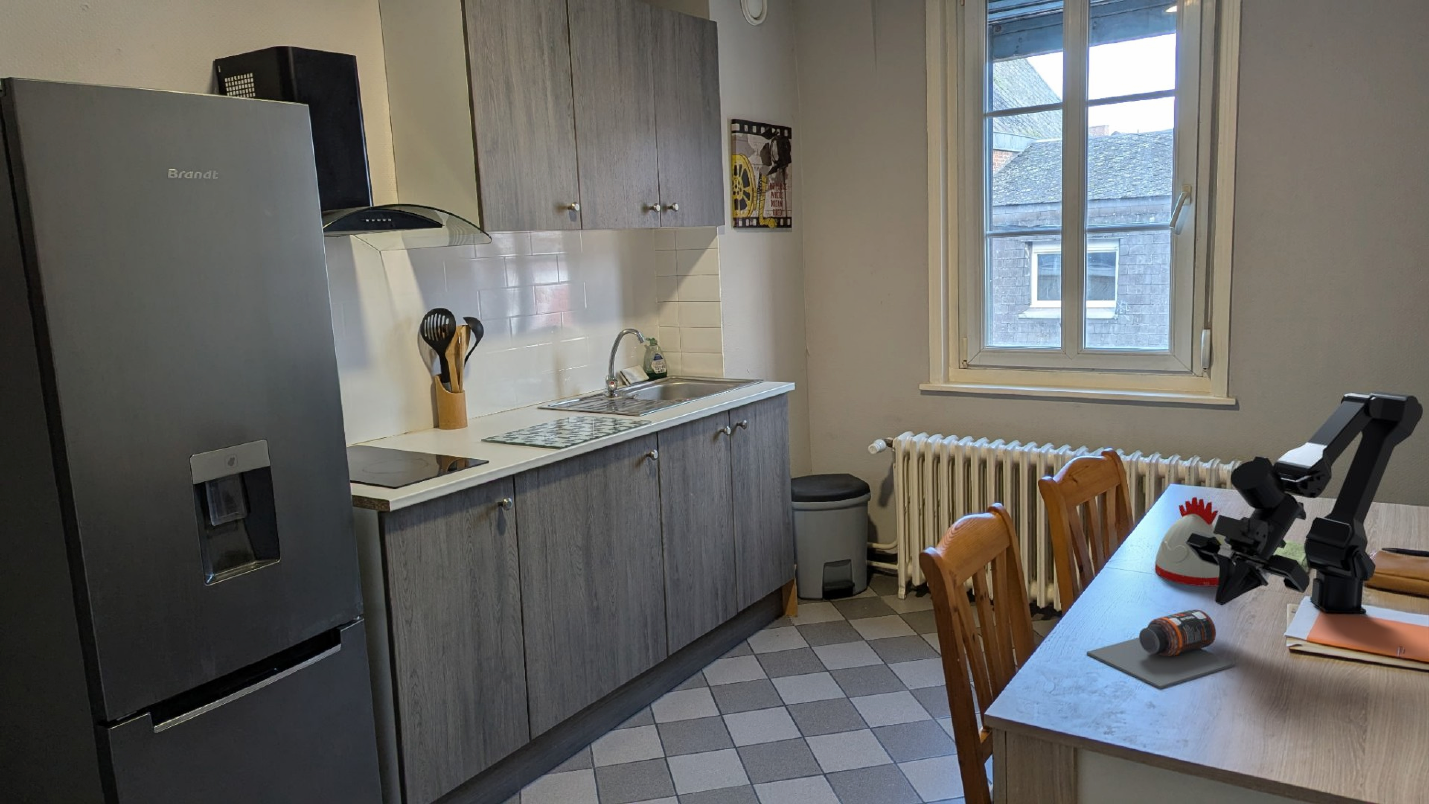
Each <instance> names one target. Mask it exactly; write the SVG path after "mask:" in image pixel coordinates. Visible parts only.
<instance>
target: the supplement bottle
mask: <svg viewBox="0 0 1429 804" xmlns="http://www.w3.org/2000/svg"><path fill="white" fill-rule="evenodd" d="M1148 623H1149V624H1148V625H1147V627H1144V628H1142V629H1141V630H1140V631H1139V634H1138V635H1139V636H1138V638H1139V640H1140V643H1141V646H1142V647H1143V649H1144V650H1145V651H1146V652H1148V653H1150V654H1155V653H1158V654H1159V655H1161V656H1165V657H1169V656H1174V655H1178V654H1182V653H1186V652H1189V651H1193V650H1197V649H1203V648H1206V647H1209V646H1211V645H1213V643H1214V642H1215V640H1216V635H1217V630H1216V625H1215V623H1214V621H1213V620H1212V618H1211V616H1209V615H1208V613H1206V612H1205V611H1203V610H1200V609H1190V610H1184V611H1181V612H1177V613H1173V614H1170V615H1169V614H1168V615H1165V616H1161V617H1157V618H1154V619H1153V620H1151V621H1150V622H1148Z"/></svg>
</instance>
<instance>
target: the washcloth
mask: <svg viewBox="0 0 1429 804" xmlns="http://www.w3.org/2000/svg"><path fill="white" fill-rule="evenodd" d="M1283 540H1284V541H1285V542H1286V543H1287V544H1286V545H1285V547H1284V549H1283V548H1279V547H1278V548H1277V550H1276V551H1275V553H1274V554H1273V555H1275V554H1277V555H1280V556H1284V557H1287V558H1291V559H1294V560H1297V561H1298V563H1299V564H1300V565H1301V566H1302V568H1303V569H1304V570H1305V571H1306V573H1307V574H1308V572H1309V571H1310V570H1309V569H1310V568H1308V565H1307V560H1306V555H1305V550H1304V543H1301V542H1296V541H1293V540H1287V539H1283Z"/></svg>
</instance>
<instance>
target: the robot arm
mask: <svg viewBox="0 0 1429 804" xmlns="http://www.w3.org/2000/svg"><path fill="white" fill-rule="evenodd" d="M1423 413H1424V408H1423V406H1422V403H1419V400H1418V399H1417V397H1416V396H1415V395H1411V394H1404V393H1403V394H1402V393H1396V392H1395V393H1394V392H1393V393H1392V392H1386V391H1372V392H1370V393H1367V394H1366V393H1359V392H1350V393H1346V394H1344V395H1343V396H1342V398H1341V401H1340V405H1338V406H1337V408H1336V409H1335V410H1334V411H1333V413H1332V414H1330V416H1329V417H1328V418H1327V419H1326V420H1325V422H1324V423H1323V424H1322V425H1321V426H1320V427H1319V428H1318V429H1317V430H1316V432H1315V433H1314V434H1313V435H1312V436H1311V437H1310V439H1308V441H1307V442H1305V444H1303V445H1302V446H1299V447H1296V448H1293V449H1291V450H1288V451H1287V452H1285V454H1283V455H1282V456H1281V457H1279V458H1278V459H1276V461H1275V462H1274V463H1273V464H1272V462H1271V460H1270V459H1269V458H1268V457H1265V456H1262V455H1255V457H1254V458H1253V459H1252V460H1250V461H1249V460H1248V461H1246V462H1244V463H1242V464H1240V465H1238V466H1237V467H1235V468H1234V469H1233V470H1232V472H1231V475H1230V483H1231V485H1232V486H1233V488H1234V489H1235V490H1236V491H1237V493H1238V494H1240V496H1241V497H1242V498H1243V500H1244V501H1245V503H1247V505H1248V506H1249V507H1251V508H1252V509H1253V511H1252V513H1251V515H1250V516H1249V517H1246V516H1243V517H1241V518H1240V519H1238V518H1234V517H1230V516H1226V515H1223V514H1218V515H1217V516H1218V517H1217V520H1216V522H1215V523H1216V525H1215V528H1214V531H1213V533H1214V534H1220V535H1222V536H1225V537H1226V538H1225V539H1224V541H1225V542H1226V543H1227V544H1229V545H1231V548H1229V547H1226V546H1222V544H1221V543H1220V542H1219V541H1218V540H1217V539H1216V537H1215V536H1211V535H1208V534H1204V533H1201V532H1193V533H1192V534H1191V535H1190V536H1189V538H1188V539H1187V541H1186V542H1185V543H1186V544H1187V545H1188V546H1189V547H1190V549H1191V550H1192V551H1193V552H1194V553H1195V554H1196V555H1197V557H1198V558H1199V559H1200V560H1202V561H1204V562H1207V563H1210V564H1213V565H1216V566H1218V565H1219V580H1218V586H1216V592H1215V593H1216V594H1215V597H1214V598H1215V599H1214V602H1215V603H1216V604H1217V605H1219V606H1225V605H1227V604H1228V603H1229V602H1233V600H1235V599H1237V598H1239V597H1241V596H1242V595H1244V594H1246V593H1248V592H1250V591H1252V590H1255V589H1257V588H1259V587H1262V586H1263V587H1267V586H1268V585H1269V584H1270V583H1269V582H1268V580H1269V578H1270V576H1271V575H1274V576H1276V577H1277V576H1278V577H1281V578H1284V579H1283V584H1284V586H1285V588H1286V589H1289V590H1292V591H1295V592H1298V593H1300V594H1303V593H1305V592H1306V590H1307V589H1308V587H1309V586H1310V581H1311V578H1310V575H1309V574H1308V572H1307V573H1306V571H1305V570H1304V569H1303V568H1302V566H1301V565H1300V564H1299V563H1298V561H1297V560H1294V559H1291V558H1287V557H1284V556H1280V555H1277V554H1275V555H1273V554H1274V553H1275V551H1276V550H1277V548H1278V547H1279V548H1283V549H1284V547H1285V545H1286V544H1287V543H1286V542H1285V541H1284V540H1285V539H1284V538H1285V537H1286V536H1287V534H1288V532H1289V530H1290V529H1291V527H1292V526H1293V524H1294V523H1295V521H1296V519H1298V520H1302V521H1306V519H1307V512H1306V510H1305V508H1304V506H1305V504H1304V502H1301V501H1298V500H1297V499H1296V497H1295V496H1299V497H1302V498H1307V499H1316V498H1318V497H1319V496H1320V495H1321V494H1322V493H1323V492H1324V491H1325V489H1326V487H1327V486H1328V484H1329V482H1330V481H1331V480H1332V475H1333V473H1332V466H1333V465H1334V463H1335V462H1336V461H1337V459H1338V458H1339V457H1340V456H1341V455H1342V454H1343V453H1344V451H1345V450H1346V449H1347V448H1348V447H1349V445H1351V444H1352V442H1353V441H1354V440H1355V439H1356V438H1357V437H1358V435H1359V434H1361V438H1360V441H1359V444H1358V445H1357V448H1356V450H1355V453H1354V455H1353V458H1352V461H1351V463H1350V465H1349V468H1348V470H1347V473H1346V475H1345V478H1344V480H1343V482H1342V485H1341V487H1340V490H1339V492H1338V494H1337V497H1336V500H1335V502H1334V505H1333V507H1332V509H1331V511H1330V512H1329V513H1328V514H1327V515H1325V516H1324V517H1320V516H1316V517H1314V519H1313V520H1312V522H1311V526H1310V528H1309V531H1308V532H1307V534H1306V535H1305V538H1306V539H1305V541H1304V543H1303V544H1304V550H1305V555H1306V560H1307V565H1308V568H1309V569H1312V570H1316V572H1315V577H1314V578H1312V584H1311V585H1312V589H1311V596H1310V597H1309V600H1310V601H1311V602H1312V603H1313V604H1314V605H1316V606H1317V607H1318V606H1319V607H1318V608H1320V609H1321V610H1322V609H1323V610H1324V611H1323V610H1322V611H1323V612H1325V611H1326V612H1325V613H1327V612H1346V613H1345V614H1348V613H1347V612H1357V613H1356V614H1366V613H1367V609H1365V608H1364V607H1363V606H1362V603H1363V593H1364V591H1363V590H1364V582H1369V581H1371V580H1370V579H1371V578H1373V577H1374V575H1375V570H1376V564H1375V563H1374V561H1373V559H1372V558H1371V557H1370V555H1369V554H1368V552H1366V551H1367V550H1366V549H1367V547H1368V544H1369V540H1368V537H1367V534H1366V533H1367V532H1366V530H1365V527H1364V523H1365V520H1366V518H1367V515H1368V513H1369V510H1370V508H1371V506H1372V503H1373V501H1374V499H1375V496H1376V494H1377V491H1378V488H1379V486H1380V483H1381V481H1382V479H1383V476H1384V474H1385V471H1386V469H1387V465H1388V464H1389V461H1390V458H1391V456H1392V454H1393V451H1394V450H1395V447H1397V446H1398V445H1399V444H1400V443H1401V444H1402V442H1403V441H1405V440H1406V439H1408V438H1409V437H1411V436H1412V434H1413V432H1414V430H1415V429H1416V427H1417V425H1418V423H1419V422H1420V420H1421V419H1422V417H1423V415H1424V414H1423ZM1293 495H1294V496H1293Z"/></svg>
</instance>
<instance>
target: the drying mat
mask: <svg viewBox="0 0 1429 804" xmlns="http://www.w3.org/2000/svg"><path fill="white" fill-rule="evenodd" d="M1086 655H1088V656H1090V657H1091V658H1094V659H1096V660H1098V661H1101V662H1103V663H1104V664H1107V665H1109V666H1111V667H1113V668H1115V669H1118V670H1120V671H1121V672H1124V673H1126V674H1127V675H1130V676H1132V677H1135V678H1136V679H1139V680H1140V681H1143V682H1145V683H1148V684H1149V685H1151V686H1154V687H1155V688H1158V689H1160V690H1161V689H1164V688H1167V687H1170V686H1174V685H1177V684H1179V683H1183V682H1187V681H1189V680H1192V679H1196V678H1199V677H1202V676H1206V675H1208V674H1211V673H1216V672H1219V671H1222V670H1224V669H1228V668H1232V667H1235V666H1236V662H1234V661H1232V660H1230V659H1228V658H1225V657H1223V656H1219V654H1218V655H1217V654H1215V653H1212V652H1210V651H1208V650H1206V649H1203V648H1201V649H1197V650H1193V651H1189V652H1186V653H1182V654H1178V655H1174V656H1169V657H1165V656H1161V655H1159V654H1158V653H1155V654H1150V653H1148V652H1146V651H1145V650H1144V649H1143V647H1142V646H1141V643H1140V640H1139V637H1136V638H1132V639H1129V640H1128V639H1127V640H1125V641H1121V642H1117V643H1115V644H1114V643H1113V644H1109V645H1107V646H1104V647H1099V648H1095V649H1092V650H1088V651H1086Z"/></svg>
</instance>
